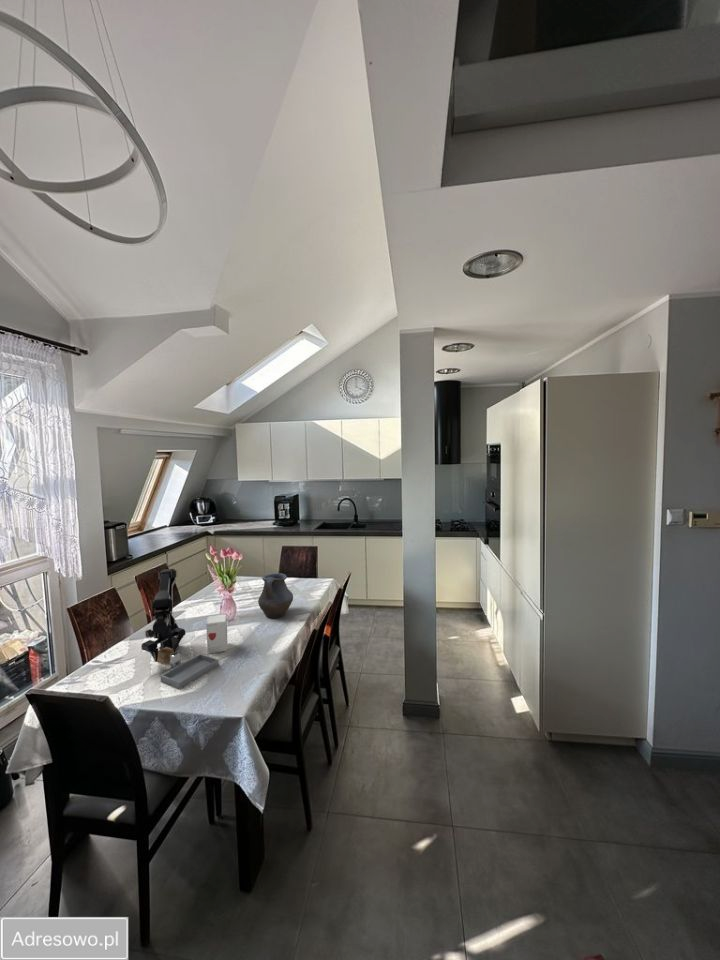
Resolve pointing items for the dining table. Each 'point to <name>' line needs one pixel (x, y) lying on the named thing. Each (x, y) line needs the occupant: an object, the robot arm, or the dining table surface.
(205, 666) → the tray
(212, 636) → the supplement box
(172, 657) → the steel peg
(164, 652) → the walnut block
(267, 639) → the dining table surface
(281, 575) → the pitcher
